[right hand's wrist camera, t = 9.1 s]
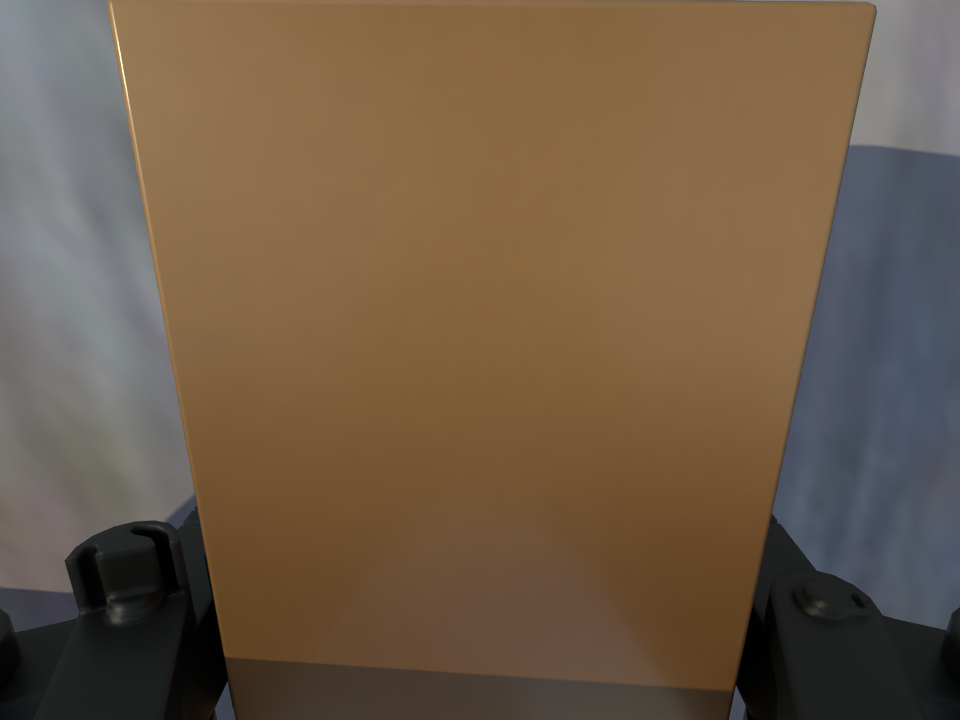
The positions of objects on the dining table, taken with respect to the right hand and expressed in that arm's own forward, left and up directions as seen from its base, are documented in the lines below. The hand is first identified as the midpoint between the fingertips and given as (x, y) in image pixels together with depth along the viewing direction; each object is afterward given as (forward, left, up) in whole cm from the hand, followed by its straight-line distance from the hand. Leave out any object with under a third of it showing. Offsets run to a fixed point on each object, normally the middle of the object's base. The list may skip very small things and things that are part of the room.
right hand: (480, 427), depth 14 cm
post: (+9, +15, -1) cm, 18 cm away
